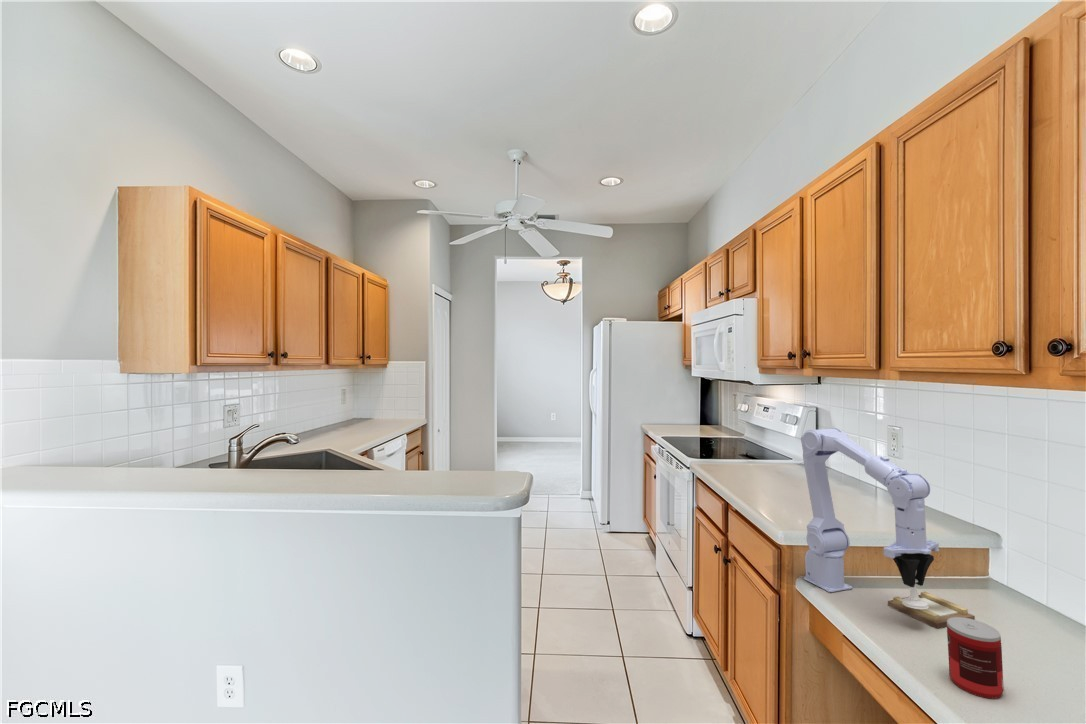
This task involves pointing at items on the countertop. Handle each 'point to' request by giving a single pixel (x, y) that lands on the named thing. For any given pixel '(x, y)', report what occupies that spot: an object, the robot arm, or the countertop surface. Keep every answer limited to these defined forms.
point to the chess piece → (914, 599)
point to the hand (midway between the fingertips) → (913, 584)
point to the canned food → (975, 657)
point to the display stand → (932, 610)
